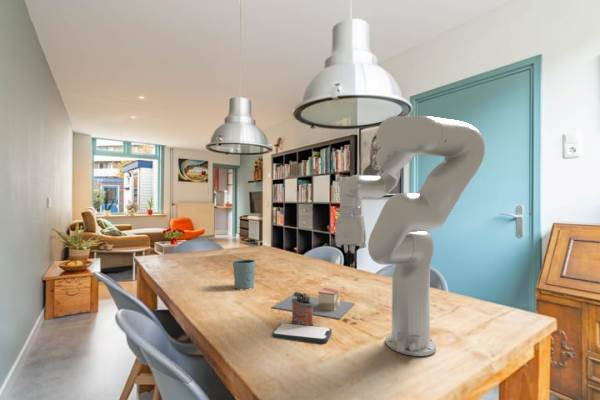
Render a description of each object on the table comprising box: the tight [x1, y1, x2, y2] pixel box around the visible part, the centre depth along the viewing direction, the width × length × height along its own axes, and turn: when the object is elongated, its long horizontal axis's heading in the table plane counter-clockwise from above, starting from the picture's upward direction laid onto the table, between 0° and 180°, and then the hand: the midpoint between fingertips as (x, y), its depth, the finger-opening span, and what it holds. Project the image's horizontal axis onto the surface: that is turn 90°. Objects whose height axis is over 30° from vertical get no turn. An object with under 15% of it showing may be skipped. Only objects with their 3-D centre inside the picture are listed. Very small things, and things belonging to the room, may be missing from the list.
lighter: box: [291, 291, 314, 326], centre depth 96 cm, size 8×3×10 cm, turn 47°
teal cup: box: [232, 259, 256, 290], centre depth 141 cm, size 10×10×12 cm
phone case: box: [271, 323, 333, 345], centre depth 90 cm, size 9×2×16 cm
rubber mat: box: [271, 294, 356, 320], centre depth 115 cm, size 18×26×1 cm
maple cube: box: [318, 287, 341, 311], centre depth 113 cm, size 6×6×6 cm
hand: (350, 263), depth 110 cm, fingers closed
